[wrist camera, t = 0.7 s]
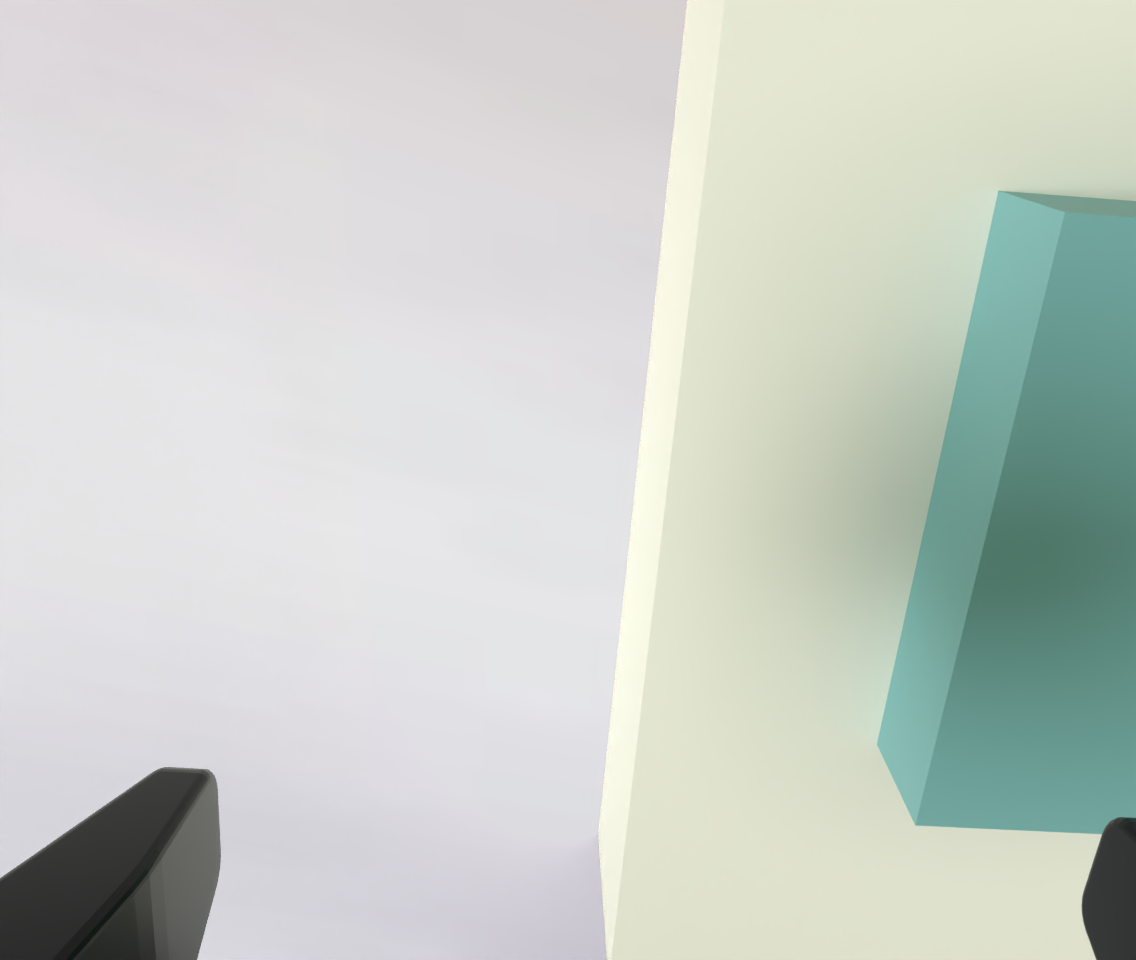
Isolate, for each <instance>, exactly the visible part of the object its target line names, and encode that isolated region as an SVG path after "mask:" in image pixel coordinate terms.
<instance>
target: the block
mask: <svg viewBox="0 0 1136 960" xmlns="http://www.w3.org/2000/svg"><path fill="white" fill-rule="evenodd" d="M877 746H878V748H879V750H880V752H881V754H882V756H883V759H884V761H885V763H886V765H887V767H888V769H889V771H890V773H891V775H892V777H893V780H894V782H895V784H896V786H897V788H898V790H899V792H900V794H901V796H902V799H903V801H904V803H905V805H906V807H907V809H908V811H909V813H910V815H911V817H912V820H913V822H914V824H915V826H937V827H958V828H980V829H1001V830H1022V831H1044V832H1065V833H1087V834H1102V833H1103V831H1104V828H1105V826H1106V825H1107V824H1108V823H1109V822H1110V821H1111V820H1113V819H1115V818H1118V817H1131V818H1136V201H1127V200H1114V199H1100V198H1087V197H1074V196H1061V195H1048V194H1034V193H1021V192H1008V191H998V195H997V199H996V204H995V208H994V213H993V217H992V222H991V226H990V231H989V236H988V240H987V245H986V249H985V254H984V258H983V263H982V267H981V272H980V277H979V281H978V286H977V290H976V295H975V299H974V304H973V308H972V313H971V318H970V322H969V327H968V331H967V336H966V340H965V345H964V349H963V354H962V359H961V363H960V368H959V372H958V377H957V381H956V386H955V390H954V395H953V400H952V404H951V409H950V413H949V418H948V422H947V427H946V431H945V436H944V441H943V445H942V450H941V454H940V459H939V463H938V468H937V472H936V477H935V482H934V486H933V491H932V495H931V500H930V504H929V509H928V513H927V518H926V523H925V527H924V532H923V536H922V541H921V545H920V550H919V554H918V559H917V564H916V568H915V573H914V577H913V582H912V586H911V591H910V595H909V600H908V605H907V609H906V614H905V618H904V623H903V627H902V632H901V636H900V641H899V646H898V650H897V655H896V659H895V664H894V668H893V673H892V677H891V682H890V687H889V691H888V696H887V700H886V705H885V709H884V714H883V718H882V723H881V728H880V732H879V737H878V741H877Z"/></svg>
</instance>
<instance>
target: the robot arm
mask: <svg viewBox="0 0 1136 960" xmlns="http://www.w3.org/2000/svg"><path fill="white" fill-rule="evenodd" d="M220 860H221V848H220V827H219V807H218V788H217V782H216V778H215V776H214V774H213V773H212V772H210V771H209V770H207V769H193V768H175V767H164V768H160V769H158V770H156V771H154V772H152V773H151V774H150V775H148V776H147V777H145V778H144V779H142V780H141V781H139V782H138V783H137V784H135V785H134V786H132V787H131V788H129V789H128V790H126V791H125V792H124V793H122V794H121V795H119V796H118V797H116V798H115V799H114V800H112V801H111V802H109V803H108V804H106V805H105V806H103V807H102V808H101V809H99V810H98V811H96V812H95V813H93V814H92V815H90V816H89V817H88V818H86V819H85V820H83V821H82V822H80V823H79V824H78V825H76V826H75V827H73V828H72V829H70V830H69V831H67V832H66V833H65V834H63V835H62V836H60V837H59V838H57V839H56V840H54V841H53V842H52V843H50V844H49V845H47V846H46V847H44V848H43V849H42V850H40V851H39V852H37V853H36V854H34V855H33V856H31V857H30V858H29V859H27V860H26V861H24V862H23V863H21V864H20V865H18V866H17V867H16V868H14V869H13V870H11V871H10V872H8V873H7V874H6V875H4V876H3V877H1V878H0V960H197V957H198V953H199V950H200V946H201V942H202V939H203V935H204V931H205V927H206V924H207V920H208V916H209V913H210V909H211V905H212V902H213V898H214V894H215V890H216V886H217V882H218V877H219V870H220ZM1082 917H1083V923H1084V926H1085V930H1086V933H1087V936H1088V938H1089V941H1090V944H1091V947H1092V949H1093V952H1094V955H1095V958H1096V960H1136V818H1131V817H1118V818H1115V819H1113V820H1111V821H1110V822H1109V823H1108V824H1107V825H1106V826H1105V828H1104V831H1103V833H1102V836H1101V839H1100V842H1099V845H1098V848H1097V851H1096V854H1095V857H1094V860H1093V863H1092V867H1091V870H1090V873H1089V876H1088V879H1087V882H1086V885H1085V888H1084V891H1083V896H1082Z"/></svg>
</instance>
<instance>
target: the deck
mask: <svg viewBox="0 0 1136 960" xmlns="http://www.w3.org/2000/svg"><path fill="white" fill-rule="evenodd" d="M998 191H1008V192H1021V193H1034V194H1048V195H1061V196H1074V197H1087V198H1100V199H1114V200H1127V201H1136V0H687V6H686V16H685V25H684V34H683V44H682V53H681V62H680V72H679V81H678V91H677V100H676V109H675V119H674V128H673V138H672V147H671V156H670V166H669V175H668V185H667V194H666V203H665V213H664V222H663V231H662V241H661V250H660V260H659V269H658V278H657V288H656V297H655V307H654V316H653V325H652V335H651V344H650V354H649V363H648V372H647V382H646V391H645V400H644V410H643V419H642V429H641V438H640V447H639V457H638V466H637V476H636V485H635V494H634V504H633V513H632V522H631V532H630V541H629V551H628V560H627V569H626V579H625V588H624V598H623V607H622V616H621V626H620V635H619V645H618V654H617V663H616V673H615V682H614V691H613V701H612V710H611V720H610V729H609V738H608V748H607V757H606V767H605V776H604V785H603V795H602V804H601V813H600V823H599V832H598V836H599V851H600V865H601V880H602V894H603V909H604V923H605V937H606V952H607V960H1096V958H1095V955H1094V952H1093V949H1092V947H1091V944H1090V941H1089V938H1088V936H1087V933H1086V930H1085V926H1084V923H1083V917H1082V896H1083V891H1084V888H1085V885H1086V882H1087V879H1088V876H1089V873H1090V870H1091V867H1092V863H1093V860H1094V857H1095V854H1096V851H1097V848H1098V845H1099V842H1100V839H1101V836H1102V834H1087V833H1065V832H1044V831H1022V830H1001V829H980V828H958V827H937V826H915V824H914V822H913V820H912V817H911V815H910V813H909V811H908V809H907V807H906V805H905V803H904V801H903V799H902V796H901V794H900V792H899V790H898V788H897V786H896V784H895V782H894V780H893V777H892V775H891V773H890V771H889V769H888V767H887V765H886V763H885V761H884V759H883V756H882V754H881V752H880V750H879V748H878V746H877V741H878V737H879V732H880V728H881V723H882V718H883V714H884V709H885V705H886V700H887V696H888V691H889V687H890V682H891V677H892V673H893V668H894V664H895V659H896V655H897V650H898V646H899V641H900V636H901V632H902V627H903V623H904V618H905V614H906V609H907V605H908V600H909V595H910V591H911V586H912V582H913V577H914V573H915V568H916V564H917V559H918V554H919V550H920V545H921V541H922V536H923V532H924V527H925V523H926V518H927V513H928V509H929V504H930V500H931V495H932V491H933V486H934V482H935V477H936V472H937V468H938V463H939V459H940V454H941V450H942V445H943V441H944V436H945V431H946V427H947V422H948V418H949V413H950V409H951V404H952V400H953V395H954V390H955V386H956V381H957V377H958V372H959V368H960V363H961V359H962V354H963V349H964V345H965V340H966V336H967V331H968V327H969V322H970V318H971V313H972V308H973V304H974V299H975V295H976V290H977V286H978V281H979V277H980V272H981V267H982V263H983V258H984V254H985V249H986V245H987V240H988V236H989V231H990V226H991V222H992V217H993V213H994V208H995V204H996V199H997V195H998Z"/></svg>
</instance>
